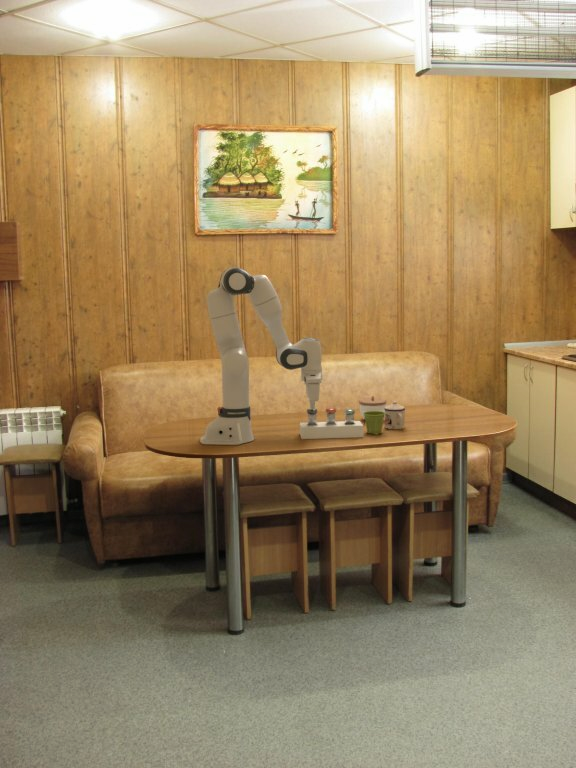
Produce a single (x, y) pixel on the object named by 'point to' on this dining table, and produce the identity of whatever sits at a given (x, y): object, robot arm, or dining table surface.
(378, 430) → the plant pot
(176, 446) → the dining table surface
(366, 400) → the lidded bowl
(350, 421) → the plug
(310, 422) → the plug
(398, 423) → the printed white mug
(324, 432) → the block
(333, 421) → the brick-red plug
